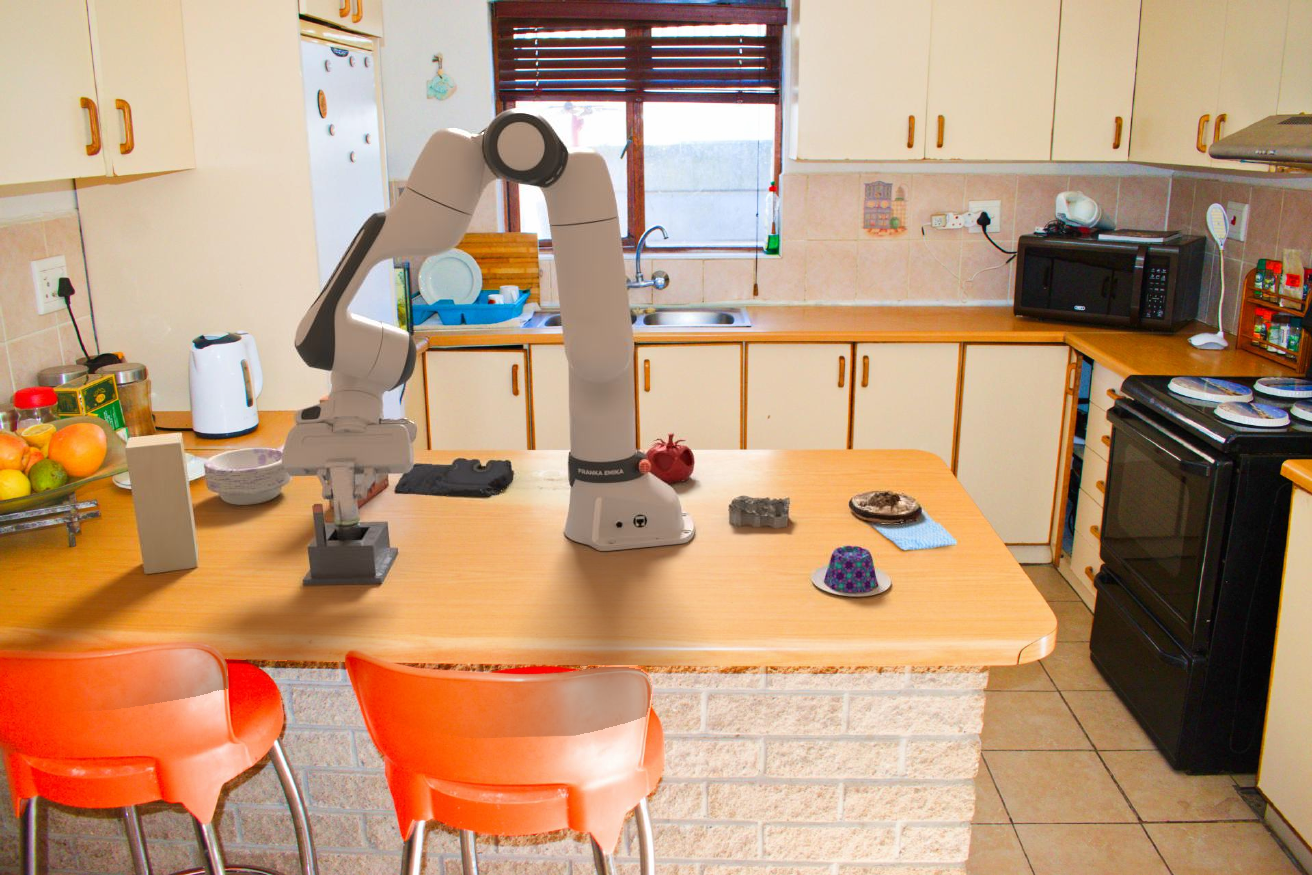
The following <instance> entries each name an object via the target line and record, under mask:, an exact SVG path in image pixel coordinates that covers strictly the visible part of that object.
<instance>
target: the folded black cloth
mask: <svg viewBox="0 0 1312 875" xmlns="http://www.w3.org/2000/svg"><path fill="white" fill-rule="evenodd" d="M512 468H513V467H512V462H511V460H509V459H505V460H501V459H497V460H496V459H490V460H488V461H487V462H486V464H485V465H482V463H481V460H480V459H477V458H472V459H466V458H464V457H462V458H461V457H458V458H456V459H454V460H453V461H452V463H451V464H438V463H437V464H432V463H422V462H421V463H414V466H413V468H412V469H411V471H410V472H409V473H402V474H401V477H400V478H399V480H398V482H397V484H396V485H395V488H394V493H395V494H400V495H401V494H402V495H419V496H435V497H436V496H438V497H462V498H464V497H465V498H466V497H467V498H484V497H486V498H487V497H488V498H491V497H493V496H499V495H500V493H502V491H503V490H504V489H506V488H508V487H509V486H510V485H511V483H512V482H513V481H512V480H514V473H515V470H513V469H512ZM509 484H510V485H509ZM507 486H508V487H507ZM503 488H504V489H503ZM501 490H502V491H501ZM492 495H493V496H492Z"/></svg>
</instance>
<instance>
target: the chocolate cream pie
mask: <svg viewBox="0 0 1312 875" xmlns="http://www.w3.org/2000/svg"><path fill="white" fill-rule="evenodd" d="M848 506H849V509H850V511H851V512H852V514H853V515H854V518H856V519H858V520H862V521H863V522H865V523H871V524H872V523H873V524H876V523H901V522H905V523H907V522H906V521H909V522H912V521H914V520H916V519H917V518H918V517H919V516H920V517H921V514H922V512H923V509H922V508H923V507H921V504H920V503H919V501H917V500H916V498H913V497H912V496H910V495H907V494H905V493H903V492H902V493H901V494H900V493H894V490H872V491H868V492H862V493H858V494H856V495H854V496H853V497H851V498H850V499H849V501H848ZM920 517H919V518H920ZM919 518H918V519H919ZM911 520H912V521H911ZM916 521H918V520H916ZM916 521H915V522H916Z"/></svg>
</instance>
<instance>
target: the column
mask: <svg viewBox="0 0 1312 875" xmlns="http://www.w3.org/2000/svg"><path fill="white" fill-rule="evenodd" d="M356 464H357V458H328V459H327V461H326V462H325V467H329V468H330V477H331V486H332V495H333V504H334V507H333V511H334V518H333V523H335V525H336V532H337V541H338V540H361V532H360V522H361V515H360V514H359V513H360V512H359V507H358V503H357V498H356V497H355V495H354V491H355V490H356V489H355V485H356V483H355V474H354V466H355V465H356Z"/></svg>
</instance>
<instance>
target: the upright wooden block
mask: <svg viewBox="0 0 1312 875" xmlns="http://www.w3.org/2000/svg"><path fill="white" fill-rule="evenodd" d="M125 456H126V457H125V458H126V463H127V469H128V475H129V476H128V477H129V482H130V483H129V484H130V489H131V490H130V491H131V495H132V502H133V508H134V509H133V510H134V515H135V520H136V526H137V533H138V539H139V547H140V553H141V560H142V566H143V571H144V572H143V573H144V574H145V575H152V574H159V573H165V572H173V571H180V570H181V571H182V570H187V569H195V568H198V566H199V554H200V553H199V545H198V538H197V531H196V523H195V516H194V509H193V502H192V495H191V489H190V488H191V487H190V481H189V474H188V467H187V458H186V452H185V445H184V438H183V433H182V432H172V433H161V434H153V435H142V436H132V437H128V439H127V442H126V445H125Z"/></svg>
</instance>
